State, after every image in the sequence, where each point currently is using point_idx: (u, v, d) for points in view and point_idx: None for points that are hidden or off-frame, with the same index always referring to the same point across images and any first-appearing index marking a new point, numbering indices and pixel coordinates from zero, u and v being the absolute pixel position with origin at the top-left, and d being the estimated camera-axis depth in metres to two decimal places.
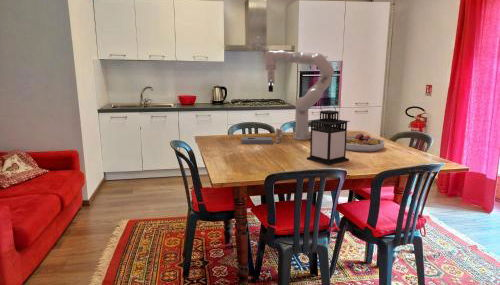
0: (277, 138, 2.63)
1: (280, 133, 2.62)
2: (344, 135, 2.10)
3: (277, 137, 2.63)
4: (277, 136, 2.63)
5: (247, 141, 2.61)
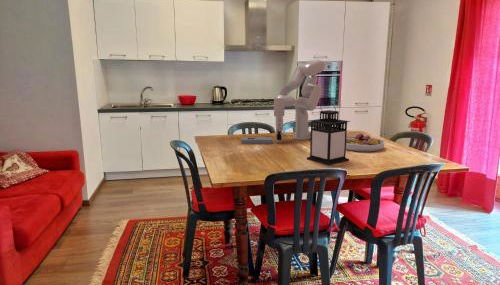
0: None
1: None
2: (344, 135, 2.10)
3: None
4: None
5: (247, 141, 2.61)
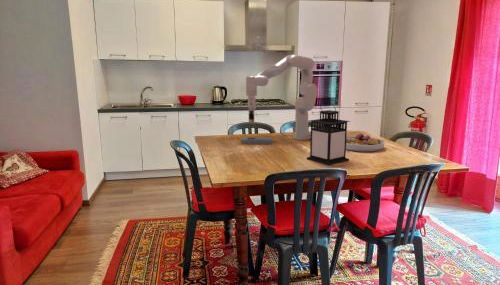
0: None
1: None
2: (344, 135, 2.10)
3: None
4: None
5: (247, 141, 2.61)
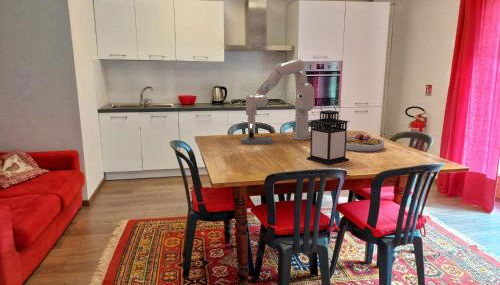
0: (249, 138, 2.64)
1: None
2: (344, 135, 2.10)
3: None
4: None
5: (247, 141, 2.61)
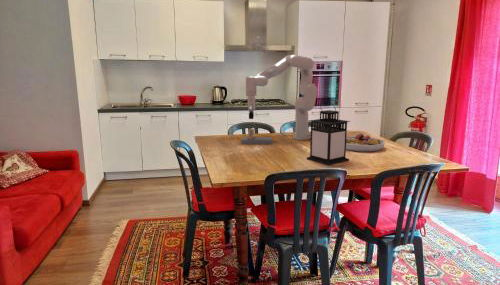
0: (249, 138, 2.64)
1: (252, 133, 2.63)
2: (344, 135, 2.10)
3: (249, 137, 2.64)
4: (249, 136, 2.63)
5: (247, 141, 2.61)
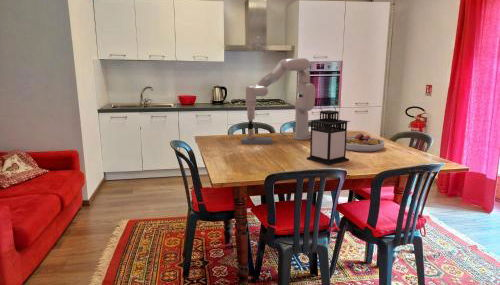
0: (249, 138, 2.64)
1: (252, 133, 2.63)
2: (344, 135, 2.10)
3: (249, 137, 2.64)
4: (249, 136, 2.63)
5: (247, 141, 2.61)
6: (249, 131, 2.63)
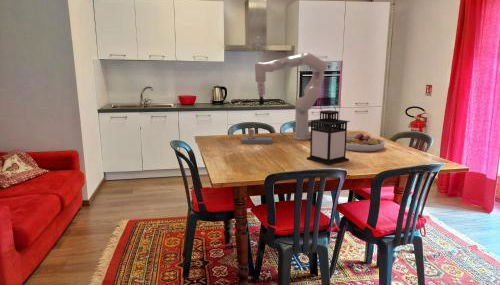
0: (249, 138, 2.64)
1: (252, 133, 2.63)
2: (344, 135, 2.10)
3: (249, 137, 2.64)
4: (249, 136, 2.63)
5: (247, 141, 2.61)
6: (249, 131, 2.63)
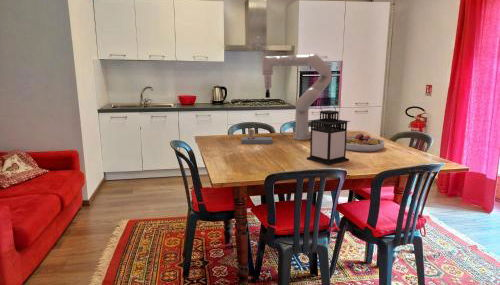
0: (249, 138, 2.64)
1: (252, 133, 2.63)
2: (344, 135, 2.10)
3: (249, 137, 2.64)
4: (249, 136, 2.63)
5: (247, 141, 2.61)
6: (249, 131, 2.63)
